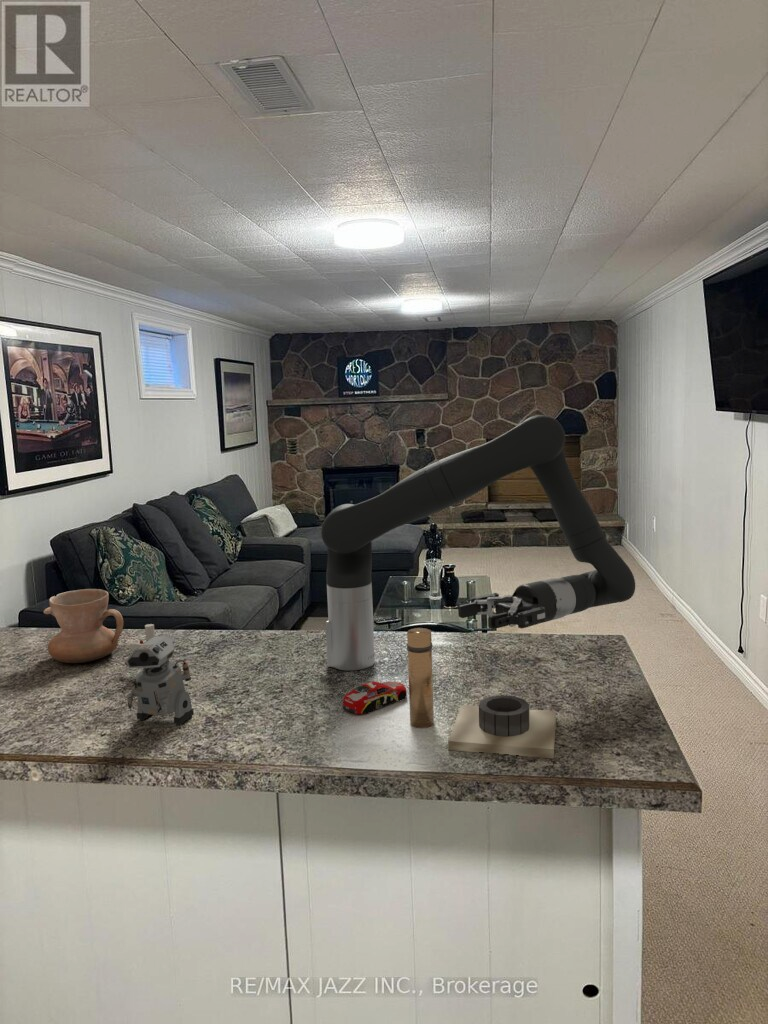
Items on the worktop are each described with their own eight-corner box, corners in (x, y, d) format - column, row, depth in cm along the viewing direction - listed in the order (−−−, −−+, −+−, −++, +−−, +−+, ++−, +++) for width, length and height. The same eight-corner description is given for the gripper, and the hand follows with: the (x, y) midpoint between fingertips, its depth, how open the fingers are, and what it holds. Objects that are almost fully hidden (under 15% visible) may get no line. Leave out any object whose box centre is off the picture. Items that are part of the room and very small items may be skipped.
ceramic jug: (29, 667, 162) (23, 603, 160) (68, 645, 176) (63, 586, 174) (107, 671, 159) (102, 606, 157) (140, 648, 173) (135, 588, 171)
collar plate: (448, 750, 117) (447, 719, 117) (461, 713, 131) (461, 685, 130) (553, 758, 113) (553, 727, 113) (556, 719, 127) (556, 691, 126)
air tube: (407, 727, 126) (404, 635, 124) (412, 716, 130) (409, 627, 128) (431, 729, 125) (429, 636, 123) (436, 718, 129) (434, 628, 127)
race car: (393, 690, 143) (393, 670, 142) (413, 698, 139) (412, 677, 138) (337, 710, 135) (337, 688, 134) (356, 719, 131) (355, 697, 130)
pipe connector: (117, 677, 154) (113, 630, 153) (149, 661, 163) (145, 616, 162) (157, 682, 150) (153, 634, 149) (187, 666, 160) (184, 620, 158)
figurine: (115, 735, 127) (107, 649, 125) (156, 708, 138) (150, 629, 136) (161, 741, 124) (153, 653, 122) (199, 713, 135) (193, 632, 133)
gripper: (518, 574, 144) (449, 588, 136) (572, 588, 132) (499, 605, 124) (519, 612, 145) (450, 628, 137) (572, 629, 133) (501, 648, 125)
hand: (474, 617), depth 131 cm, fingers open, 8 cm apart
